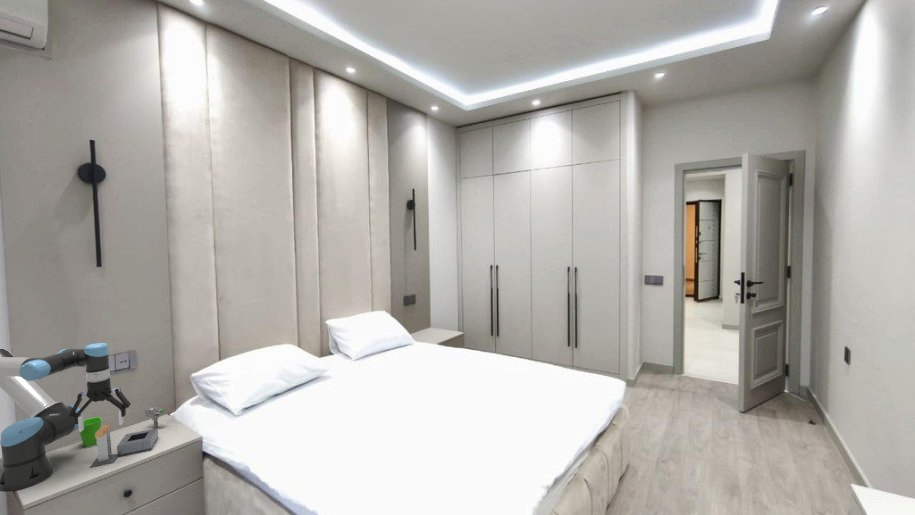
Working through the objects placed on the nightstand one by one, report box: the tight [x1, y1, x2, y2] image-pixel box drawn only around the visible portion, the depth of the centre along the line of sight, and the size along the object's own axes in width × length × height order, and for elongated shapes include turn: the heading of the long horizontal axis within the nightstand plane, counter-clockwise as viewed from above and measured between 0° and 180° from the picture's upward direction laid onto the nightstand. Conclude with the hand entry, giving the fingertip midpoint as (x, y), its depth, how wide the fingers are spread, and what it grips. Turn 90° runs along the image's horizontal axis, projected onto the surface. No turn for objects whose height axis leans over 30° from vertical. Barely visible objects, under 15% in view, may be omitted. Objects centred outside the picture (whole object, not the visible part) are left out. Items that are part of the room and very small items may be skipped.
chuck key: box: [95, 423, 112, 463], centre depth 172 cm, size 4×8×14 cm, turn 24°
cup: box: [77, 416, 103, 447], centre depth 187 cm, size 9×9×11 cm
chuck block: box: [116, 427, 159, 458], centre depth 183 cm, size 12×12×5 cm
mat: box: [89, 453, 119, 469], centre depth 173 cm, size 8×8×1 cm
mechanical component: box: [144, 406, 165, 429], centre depth 202 cm, size 3×10×10 cm, turn 78°
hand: (101, 427), depth 172 cm, fingers open, 13 cm apart
